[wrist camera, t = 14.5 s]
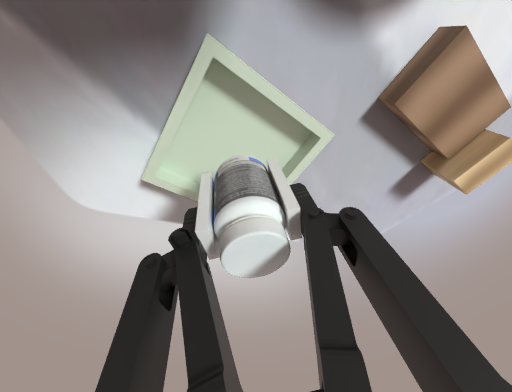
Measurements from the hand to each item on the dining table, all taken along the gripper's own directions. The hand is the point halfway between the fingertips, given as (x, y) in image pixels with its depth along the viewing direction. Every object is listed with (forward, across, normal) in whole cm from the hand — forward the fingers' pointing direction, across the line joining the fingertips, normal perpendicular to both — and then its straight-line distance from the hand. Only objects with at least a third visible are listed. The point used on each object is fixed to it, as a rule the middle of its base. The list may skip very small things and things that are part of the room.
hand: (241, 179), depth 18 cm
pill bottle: (+1, 0, 0) cm, 1 cm away
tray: (+7, 0, 0) cm, 7 cm away
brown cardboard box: (+7, +22, 0) cm, 24 cm away
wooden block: (+7, +27, -7) cm, 29 cm away
